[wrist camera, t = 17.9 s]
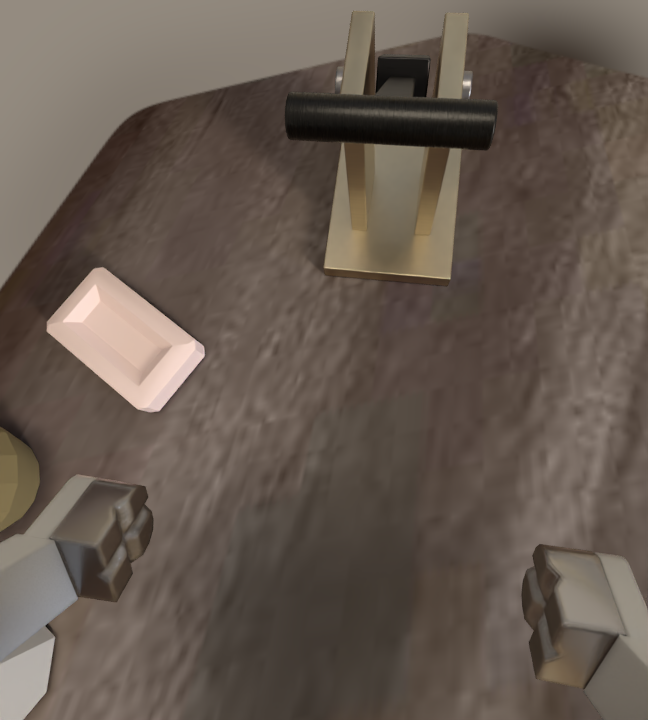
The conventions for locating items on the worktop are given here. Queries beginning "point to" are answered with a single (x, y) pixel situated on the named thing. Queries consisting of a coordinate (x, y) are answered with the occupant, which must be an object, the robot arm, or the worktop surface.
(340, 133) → the lever
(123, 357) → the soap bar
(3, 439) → the squeeze bottle
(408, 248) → the cream lever mount
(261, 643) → the worktop surface
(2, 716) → the flask
